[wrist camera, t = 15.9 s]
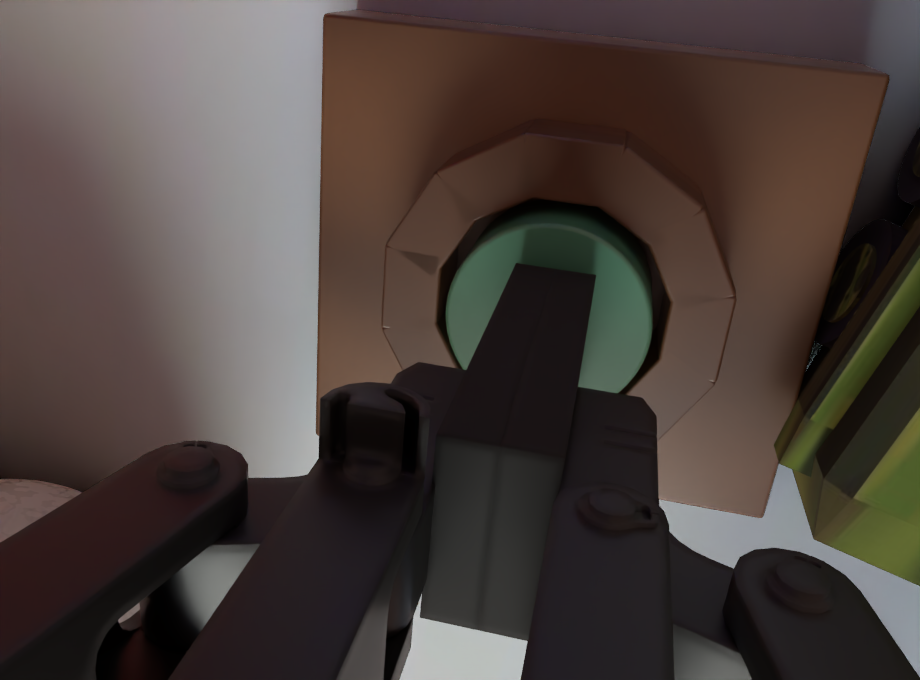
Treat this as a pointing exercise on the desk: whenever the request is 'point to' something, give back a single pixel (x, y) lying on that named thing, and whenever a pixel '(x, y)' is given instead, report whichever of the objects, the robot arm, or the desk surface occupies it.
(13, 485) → the planter
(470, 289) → the flush button
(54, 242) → the desk surface
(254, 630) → the robot arm
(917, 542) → the toy vehicle
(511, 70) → the button panel
